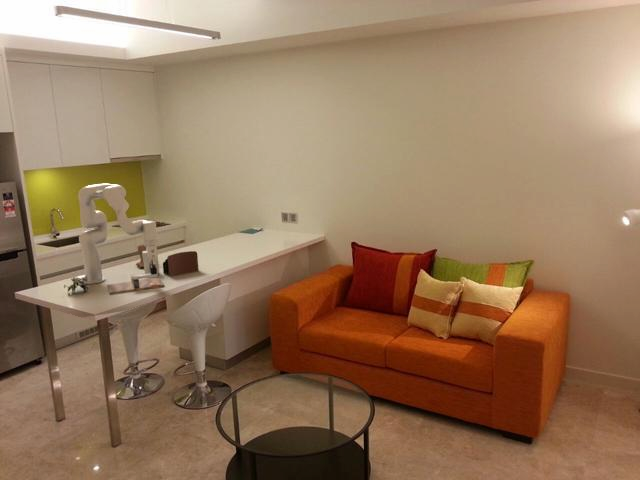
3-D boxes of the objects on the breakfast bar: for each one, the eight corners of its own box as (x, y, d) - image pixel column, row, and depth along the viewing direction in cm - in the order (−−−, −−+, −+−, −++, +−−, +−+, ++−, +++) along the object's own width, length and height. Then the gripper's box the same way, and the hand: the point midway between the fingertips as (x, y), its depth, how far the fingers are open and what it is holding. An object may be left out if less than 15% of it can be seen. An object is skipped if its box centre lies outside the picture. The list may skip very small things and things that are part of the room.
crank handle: (132, 280, 308) (131, 267, 307) (131, 278, 312) (129, 265, 310) (158, 276, 315) (156, 263, 313) (156, 274, 319) (155, 262, 317)
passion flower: (86, 300, 312) (94, 285, 308) (68, 302, 303) (76, 286, 299) (76, 287, 317) (85, 272, 313) (59, 288, 307) (67, 273, 303)
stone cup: (150, 262, 377) (148, 241, 374) (161, 264, 370) (159, 242, 367) (131, 266, 365) (129, 245, 362) (141, 269, 358) (139, 247, 355)
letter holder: (199, 271, 349) (197, 250, 346) (169, 277, 337) (167, 255, 334) (192, 268, 357) (190, 247, 354) (163, 273, 345) (161, 252, 342)
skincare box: (157, 271, 351) (155, 249, 348) (159, 273, 346) (157, 250, 342) (144, 273, 347) (141, 250, 344) (146, 275, 342) (143, 252, 338)
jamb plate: (109, 294, 303) (108, 284, 302) (107, 286, 319) (106, 277, 318) (164, 286, 316) (163, 277, 315) (159, 279, 332) (158, 270, 331)
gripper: (159, 244, 306) (162, 275, 310) (155, 239, 320) (157, 269, 324) (146, 245, 303) (149, 277, 306) (141, 240, 317) (144, 271, 321)
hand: (153, 273), depth 315 cm, fingers open, 3 cm apart
